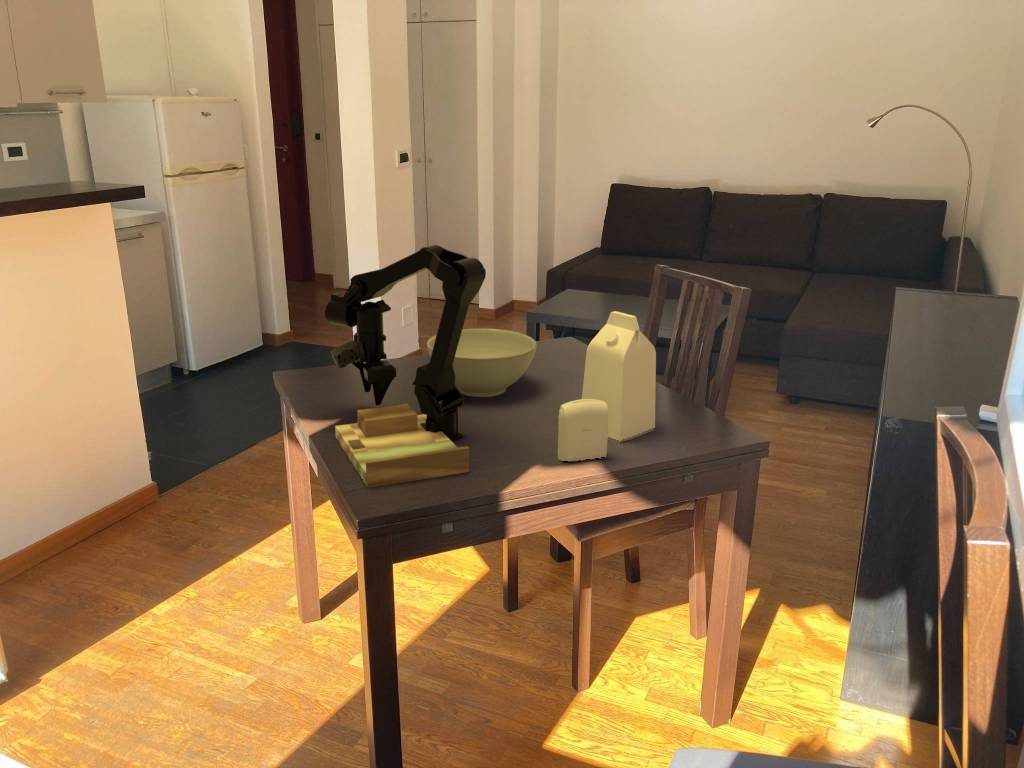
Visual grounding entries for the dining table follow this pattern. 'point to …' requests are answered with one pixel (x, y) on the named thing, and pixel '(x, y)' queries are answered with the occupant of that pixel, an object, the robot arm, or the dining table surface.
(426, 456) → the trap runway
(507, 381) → the decorative bowl
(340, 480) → the dining table surface
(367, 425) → the walnut block
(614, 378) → the milk
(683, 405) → the dining table surface
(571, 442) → the photo printer
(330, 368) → the dining table surface
